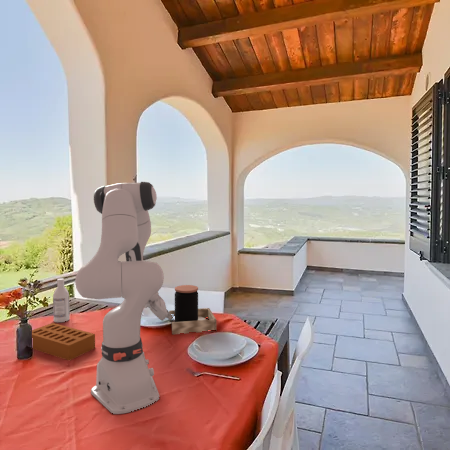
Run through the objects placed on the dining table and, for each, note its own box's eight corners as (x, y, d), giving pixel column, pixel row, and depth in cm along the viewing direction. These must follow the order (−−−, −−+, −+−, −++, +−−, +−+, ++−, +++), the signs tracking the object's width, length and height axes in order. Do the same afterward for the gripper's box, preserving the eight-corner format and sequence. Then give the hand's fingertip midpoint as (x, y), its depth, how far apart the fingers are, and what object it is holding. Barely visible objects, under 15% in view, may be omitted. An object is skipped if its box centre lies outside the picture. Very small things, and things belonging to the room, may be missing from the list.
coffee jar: (200, 323, 162) (200, 285, 160) (194, 331, 151) (194, 291, 150) (178, 321, 163) (178, 284, 162) (171, 329, 153) (171, 290, 152)
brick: (95, 348, 134) (95, 333, 133) (69, 361, 123) (68, 345, 122) (53, 336, 145) (52, 322, 144) (25, 347, 134) (25, 332, 134)
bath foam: (61, 317, 168) (60, 276, 166) (72, 318, 165) (72, 278, 164) (50, 321, 161) (49, 280, 160) (61, 323, 159) (60, 281, 157)
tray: (172, 334, 148) (172, 323, 147) (169, 320, 164) (169, 310, 164) (216, 330, 152) (216, 319, 152) (209, 317, 169) (209, 307, 168)
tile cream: (197, 325, 160) (197, 321, 159) (191, 322, 163) (191, 318, 163) (206, 323, 163) (206, 318, 163) (200, 320, 167) (200, 316, 166)
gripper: (154, 299, 143) (178, 320, 146) (153, 287, 162) (174, 306, 165) (144, 310, 142) (167, 331, 145) (143, 297, 162) (164, 315, 165)
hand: (171, 317), depth 155 cm, fingers closed
